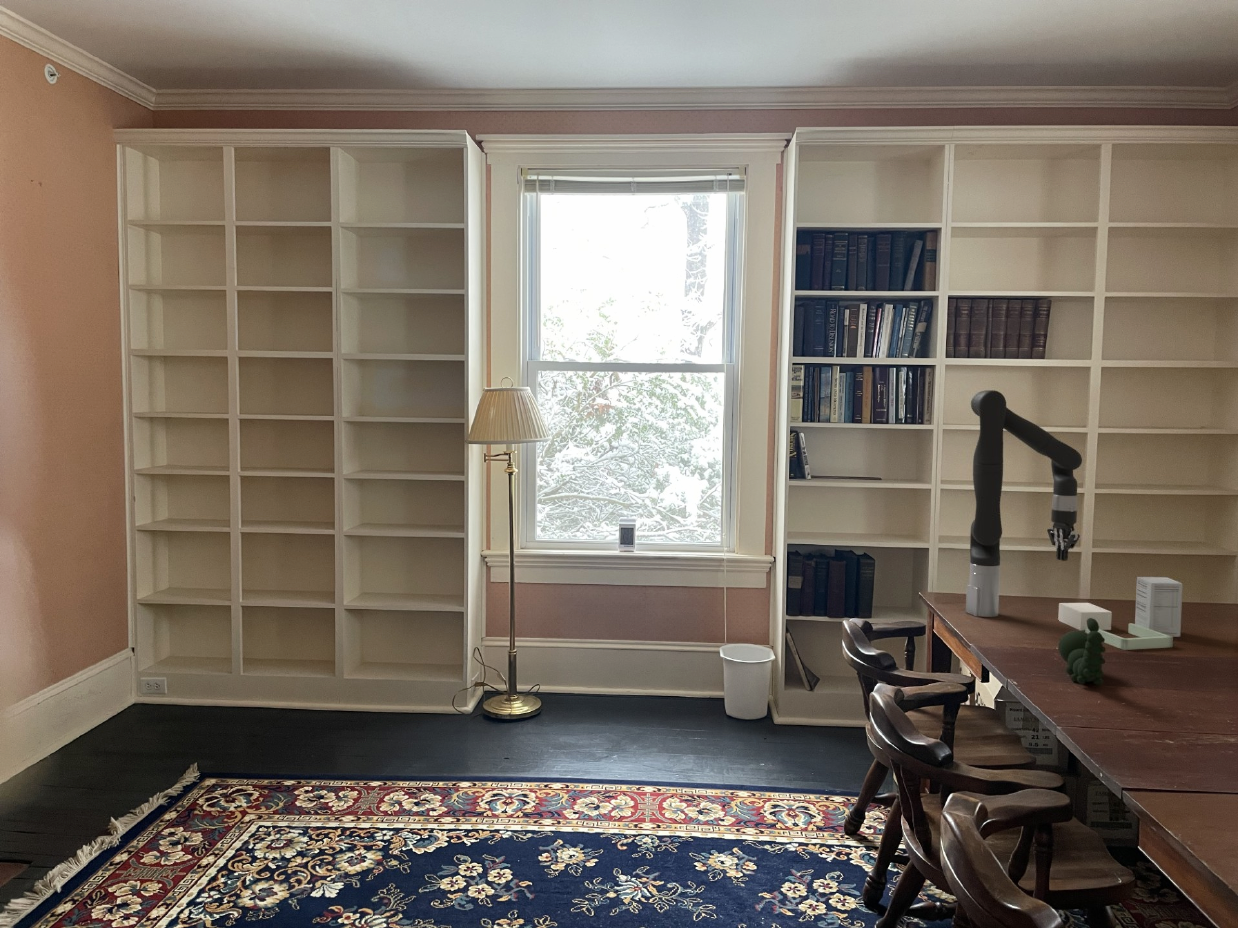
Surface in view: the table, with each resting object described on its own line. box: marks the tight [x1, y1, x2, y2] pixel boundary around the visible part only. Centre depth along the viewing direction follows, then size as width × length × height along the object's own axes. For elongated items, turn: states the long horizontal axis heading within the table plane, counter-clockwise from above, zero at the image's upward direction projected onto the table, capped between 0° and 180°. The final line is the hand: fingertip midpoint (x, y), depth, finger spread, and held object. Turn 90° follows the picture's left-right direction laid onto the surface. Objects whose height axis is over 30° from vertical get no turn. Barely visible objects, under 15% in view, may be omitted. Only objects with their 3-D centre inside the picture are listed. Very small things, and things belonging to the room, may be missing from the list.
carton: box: [1057, 602, 1113, 631], centre depth 275 cm, size 10×12×6 cm
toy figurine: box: [1057, 618, 1107, 686], centre depth 222 cm, size 9×19×25 cm
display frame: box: [1084, 623, 1174, 651], centre depth 257 cm, size 16×16×3 cm
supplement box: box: [1134, 576, 1183, 638], centre depth 265 cm, size 10×9×17 cm
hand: (1062, 559), depth 285 cm, fingers closed
